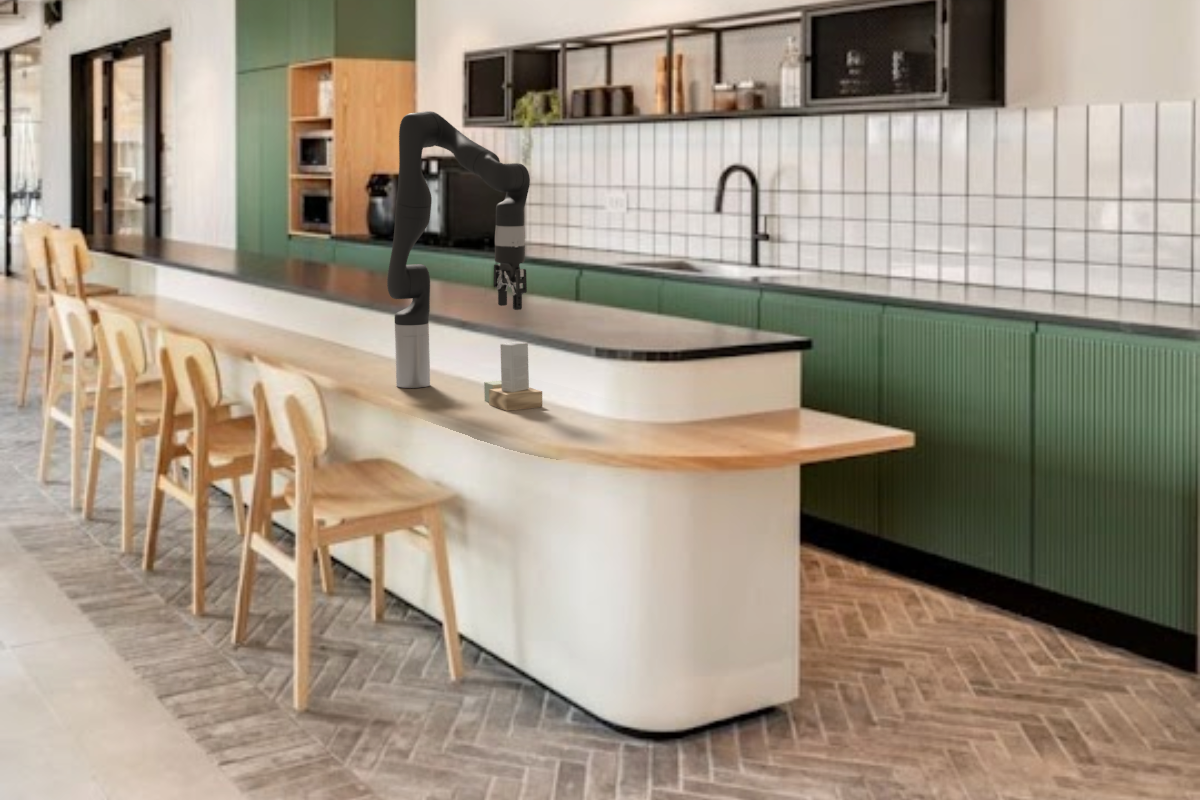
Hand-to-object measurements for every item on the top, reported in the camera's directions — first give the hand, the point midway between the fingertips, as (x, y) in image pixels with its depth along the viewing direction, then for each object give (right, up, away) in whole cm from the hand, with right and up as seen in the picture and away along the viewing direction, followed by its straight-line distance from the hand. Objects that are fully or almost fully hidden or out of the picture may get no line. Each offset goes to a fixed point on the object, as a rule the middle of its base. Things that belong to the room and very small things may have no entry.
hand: (509, 307), depth 371 cm
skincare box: (+1, -21, -2) cm, 21 cm away
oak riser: (+2, -25, -1) cm, 25 cm away
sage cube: (-3, -24, +5) cm, 25 cm away
